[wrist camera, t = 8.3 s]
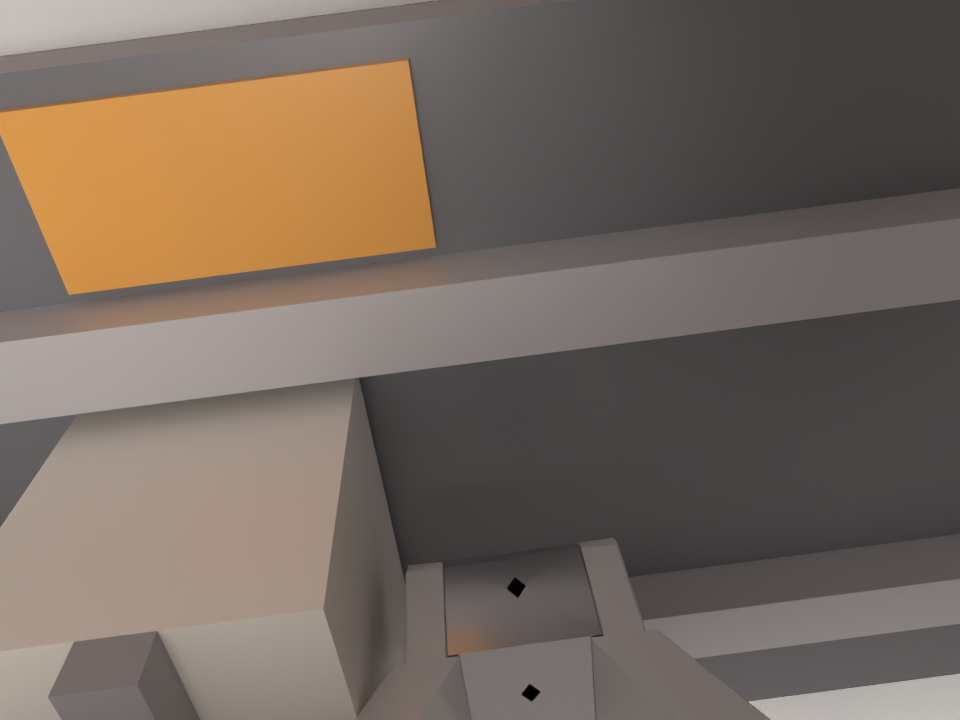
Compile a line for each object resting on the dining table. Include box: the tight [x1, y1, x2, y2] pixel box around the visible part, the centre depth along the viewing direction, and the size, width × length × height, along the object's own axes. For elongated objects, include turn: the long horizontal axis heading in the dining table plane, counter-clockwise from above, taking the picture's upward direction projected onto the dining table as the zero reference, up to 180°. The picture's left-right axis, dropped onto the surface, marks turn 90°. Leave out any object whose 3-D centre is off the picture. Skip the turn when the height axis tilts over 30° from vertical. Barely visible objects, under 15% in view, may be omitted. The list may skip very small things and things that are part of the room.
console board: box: [0, 0, 960, 701], centre depth 13 cm, size 26×14×3 cm, turn 96°
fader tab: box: [0, 378, 406, 720], centre depth 10 cm, size 4×5×5 cm
